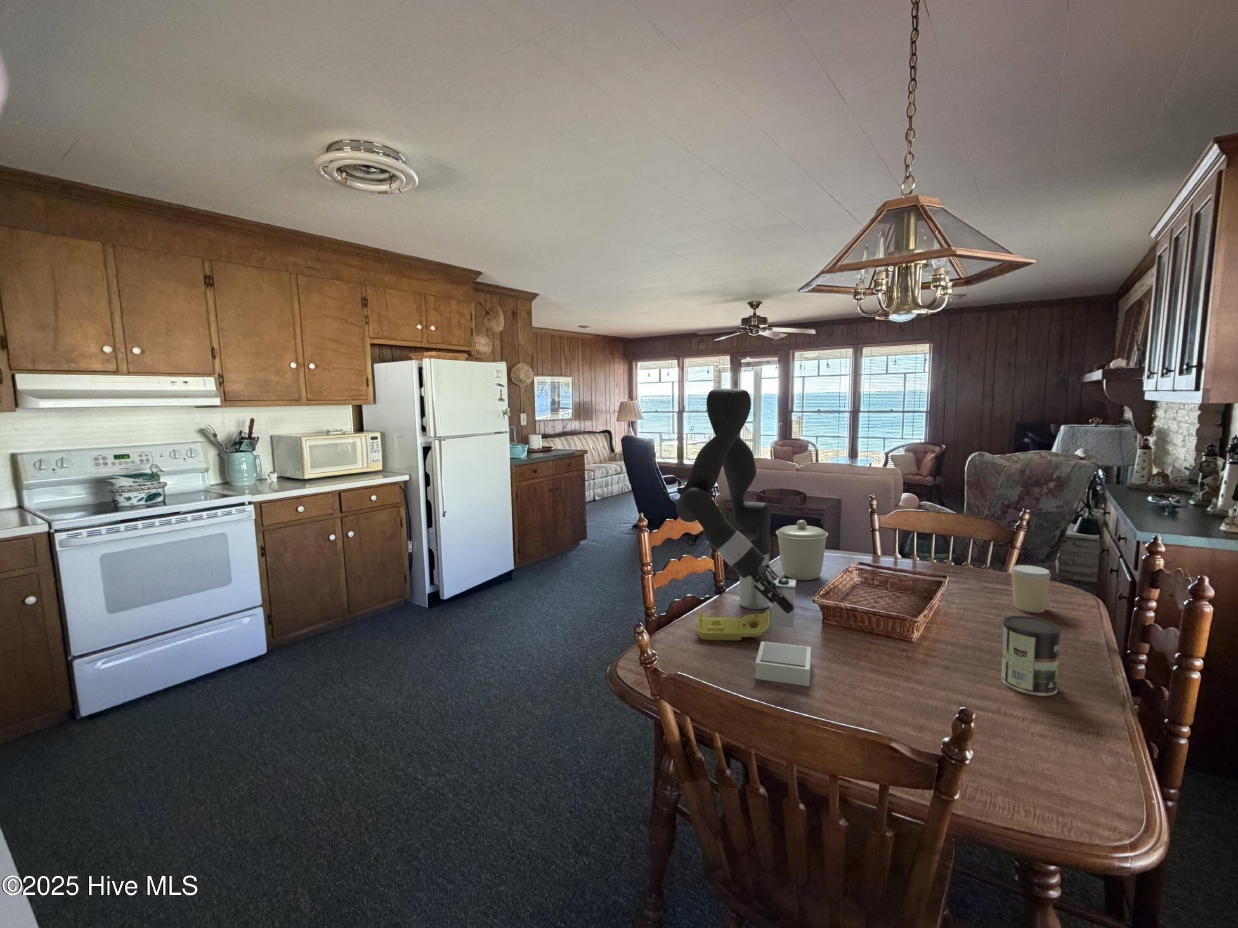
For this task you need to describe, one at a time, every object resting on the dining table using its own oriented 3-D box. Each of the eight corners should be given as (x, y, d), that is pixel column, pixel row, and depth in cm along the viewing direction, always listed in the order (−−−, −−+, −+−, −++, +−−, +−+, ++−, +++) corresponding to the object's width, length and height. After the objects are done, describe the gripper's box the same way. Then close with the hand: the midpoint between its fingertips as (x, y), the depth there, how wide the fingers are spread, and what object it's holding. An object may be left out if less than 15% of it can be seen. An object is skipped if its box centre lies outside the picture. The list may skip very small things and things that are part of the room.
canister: (793, 566, 216) (793, 513, 213) (837, 576, 202) (837, 519, 199) (766, 576, 204) (765, 520, 202) (810, 588, 190) (810, 528, 188)
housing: (772, 617, 136) (772, 575, 134) (795, 619, 134) (796, 577, 133) (770, 625, 131) (770, 582, 129) (794, 628, 129) (794, 584, 128)
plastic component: (696, 632, 151) (699, 605, 160) (699, 650, 155) (702, 623, 163) (770, 633, 146) (769, 605, 154) (772, 652, 149) (772, 623, 158)
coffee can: (1054, 679, 125) (1057, 619, 124) (1060, 701, 116) (1064, 637, 115) (999, 669, 131) (1001, 611, 129) (1001, 689, 122) (1004, 627, 120)
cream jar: (1046, 605, 168) (1048, 567, 167) (1050, 615, 160) (1052, 575, 159) (1009, 600, 173) (1011, 563, 172) (1011, 610, 165) (1013, 571, 164)
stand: (761, 656, 141) (761, 640, 141) (810, 662, 137) (810, 645, 136) (755, 678, 130) (755, 661, 130) (809, 686, 126) (809, 668, 125)
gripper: (747, 551, 126) (802, 607, 123) (755, 537, 139) (804, 587, 137) (724, 572, 129) (777, 627, 126) (734, 555, 142) (782, 605, 139)
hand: (791, 606), depth 131 cm, fingers closed on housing, 5 cm apart
